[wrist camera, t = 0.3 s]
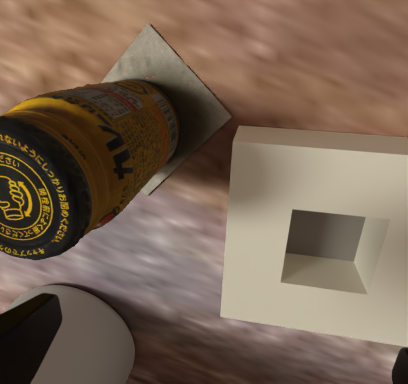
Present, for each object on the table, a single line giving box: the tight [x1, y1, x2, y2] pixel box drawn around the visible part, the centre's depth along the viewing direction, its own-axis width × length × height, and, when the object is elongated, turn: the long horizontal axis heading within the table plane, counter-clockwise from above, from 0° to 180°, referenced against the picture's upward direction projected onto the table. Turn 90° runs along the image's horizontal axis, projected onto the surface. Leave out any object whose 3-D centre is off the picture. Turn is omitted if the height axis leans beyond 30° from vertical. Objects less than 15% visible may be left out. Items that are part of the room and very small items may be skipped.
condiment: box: [0, 24, 232, 260], centre depth 16 cm, size 7×8×12 cm
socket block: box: [220, 125, 408, 347], centre depth 20 cm, size 12×12×4 cm
